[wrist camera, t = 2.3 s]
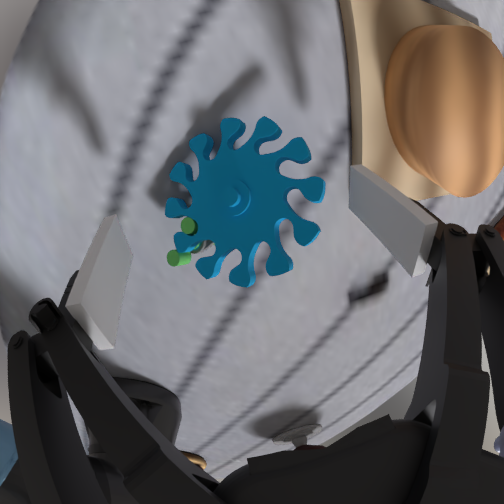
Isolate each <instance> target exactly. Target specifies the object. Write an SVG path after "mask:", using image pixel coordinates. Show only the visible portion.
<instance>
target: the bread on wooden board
mask: <svg viewBox="0 0 504 504" xmlns="http://www.w3.org/2000/svg"><path fill="white" fill-rule="evenodd" d="M339 2H340V8H341V14H342V20H343V27H344V35H345V43H346V51H347V61H348V72H349V84H350V100H351V122H352V165H359V164H362V165H363V166H365V167H366V168H368V169H369V170H371V171H372V172H374V173H375V174H377V175H378V176H379V177H381V178H382V179H384V180H385V181H386V182H388V183H389V184H391V185H392V186H393V187H395V188H396V189H397V190H399V191H400V192H401V193H403V194H404V195H405V196H407V197H408V198H411V199H413V200H415V201H417V200H423V199H428V198H433V197H438V196H443V195H448V194H452V195H455V196H457V197H471V196H474V195H476V194H478V193H480V192H482V191H483V190H485V189H486V188H487V187H488V186H489V185H490V184H491V183H492V182H493V181H494V180H495V178H496V177H497V176H498V174H499V173H500V171H501V169H502V167H503V166H504V58H503V56H502V54H501V52H500V51H499V49H498V48H497V46H496V45H495V44H494V43H493V42H492V36H491V33H490V32H488V31H486V30H484V29H483V28H481V27H479V26H477V25H475V24H473V23H471V22H469V21H467V20H465V19H463V18H461V17H459V16H457V15H455V14H453V13H451V12H449V11H446V10H444V9H442V8H439V7H437V6H434V5H432V4H429V3H427V2H424V1H421V0H339Z"/></svg>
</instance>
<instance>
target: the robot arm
mask: <svg viewBox="0 0 504 504" xmlns="http://www.w3.org/2000/svg"><path fill="white" fill-rule="evenodd" d="M349 209H350V210H351V211H352V212H353V213H354V214H355V215H356V216H357V217H358V218H359V219H360V220H361V221H362V222H363V223H364V224H365V225H366V226H367V227H368V228H369V229H370V230H371V232H372V233H373V234H374V235H375V236H376V237H377V238H378V239H379V240H380V241H381V242H382V244H383V245H384V246H385V247H386V248H387V249H388V250H389V251H390V253H391V254H392V255H393V256H394V257H395V258H396V259H397V261H398V262H399V263H400V264H401V265H402V266H403V268H404V269H405V270H406V271H407V272H408V273H409V275H410V276H411V277H415V276H418V275H421V274H423V273H424V272H425V268H426V265H427V263H428V264H429V265H430V266H431V267H432V269H431V272H430V275H429V278H428V281H427V283H426V286H427V287H428V285H429V298H428V310H427V320H426V329H425V336H424V343H423V350H422V356H421V362H420V367H419V372H418V377H417V382H416V387H415V391H414V395H413V399H412V402H411V405H410V407H409V409H408V411H407V413H406V415H405V417H404V420H403V419H399V420H391V418H390V416H389V414H388V415H386V416H384V417H382V418H379V419H377V420H375V421H372V422H370V423H367V424H365V425H362V426H360V427H357V428H356V429H355V430H353V431H352V432H350V433H349V434H347V435H346V436H344V437H343V438H341V439H339V440H338V441H336V442H335V443H333V444H331V445H330V446H328V447H326V448H323V449H313V450H290V451H280V452H276V453H272V454H267V455H262V456H257V457H252V458H247V461H248V464H247V465H245V466H242V467H241V468H239V469H237V470H235V471H234V472H232V473H231V474H230V475H228V476H227V477H226V478H225V479H224V480H223V481H222V482H221V483H219V482H218V481H217V480H215V479H214V478H213V477H212V476H210V475H209V474H208V473H206V472H205V471H203V470H202V469H201V468H199V467H198V466H196V465H195V464H194V463H193V462H191V461H190V460H189V459H188V458H187V457H186V456H185V455H184V454H182V453H181V452H180V451H179V450H178V449H177V448H176V447H175V446H174V444H175V441H176V437H177V433H178V429H179V426H180V422H181V418H182V414H181V403H180V401H179V399H178V398H177V397H176V396H175V395H174V394H172V393H171V392H169V391H167V390H165V389H163V388H161V387H158V386H155V385H152V384H149V383H145V382H141V381H136V380H129V379H120V378H112V376H111V375H110V374H109V372H108V371H107V370H106V368H105V367H104V366H103V364H102V363H101V362H100V360H99V359H98V357H97V356H96V355H95V353H94V352H93V351H92V350H91V348H92V344H93V343H94V344H95V345H96V347H97V348H98V349H99V350H106V349H114V348H115V341H116V335H117V329H118V323H119V318H120V312H121V307H122V302H123V297H124V292H125V288H126V283H127V279H128V274H129V270H130V266H131V262H132V258H133V253H132V251H131V248H130V246H129V244H128V242H127V239H126V237H125V235H124V232H123V230H122V227H121V225H120V223H119V220H118V218H117V215H116V214H115V215H112V216H109V217H105V218H104V219H103V221H102V223H101V225H100V227H99V229H98V231H97V233H96V235H95V237H94V239H93V241H92V243H91V245H90V248H89V250H88V252H87V254H86V256H85V258H84V261H83V263H82V265H81V268H80V270H78V271H76V272H75V273H74V274H73V275H72V277H71V278H70V280H69V282H68V285H67V288H66V289H65V292H64V294H63V297H62V299H61V302H60V304H59V307H57V306H56V305H55V303H54V302H53V300H51V299H50V298H45V299H42V300H40V301H39V302H37V303H36V304H35V305H34V306H33V308H32V309H31V311H30V314H29V321H30V322H31V323H32V324H33V326H34V327H35V328H36V329H37V330H38V332H39V333H38V334H36V335H34V336H32V337H30V336H29V335H28V333H27V332H26V331H22V330H21V331H19V332H17V333H16V334H14V335H13V337H12V338H11V340H10V342H9V345H8V388H9V401H10V411H11V419H12V424H9V423H7V422H5V421H3V420H1V419H0V504H504V240H503V238H502V237H501V235H500V234H499V232H498V231H497V230H496V229H494V228H493V227H492V226H490V225H485V224H484V225H480V226H479V227H478V230H477V234H468V232H467V231H466V230H465V229H464V228H463V227H461V226H459V225H456V224H451V223H450V224H445V223H443V222H442V221H441V220H440V219H439V218H437V217H436V216H435V215H434V214H433V213H431V212H430V211H429V210H428V209H426V208H424V206H423V205H421V204H420V203H419V202H417V201H415V200H413V199H411V198H408V197H407V196H405V195H404V194H403V193H401V192H400V191H399V190H397V189H396V188H395V187H393V186H392V185H391V184H389V183H388V182H386V181H385V180H384V179H382V178H381V177H379V176H378V175H377V174H375V173H374V172H372V171H371V170H369V169H368V168H366V167H365V166H363V165H362V164H359V165H351V166H350V191H349ZM489 267H490V272H489V275H488V272H487V271H488V268H489ZM481 332H482V336H483V340H484V344H485V349H486V353H487V358H488V363H489V369H490V374H491V380H492V387H493V394H494V403H495V410H496V416H497V421H498V425H499V429H500V432H501V433H500V436H499V437H497V439H496V440H495V442H494V449H495V450H496V451H497V452H500V453H499V456H498V455H496V454H493V453H491V452H488V451H486V450H483V449H482V445H483V440H484V433H485V428H486V420H487V413H488V403H489V390H490V376H489V374H488V372H484V371H482V368H481V358H482V342H481V341H482V338H481ZM66 390H67V392H68V394H69V396H70V397H71V399H72V401H73V403H74V405H75V406H76V408H77V410H78V411H79V413H80V415H81V416H82V418H83V420H84V423H85V427H86V431H87V434H88V438H89V455H86V453H85V450H84V447H83V444H82V442H81V439H80V436H79V433H78V430H77V427H76V424H75V421H74V417H73V414H72V410H71V407H70V403H69V399H68V396H67V392H66Z"/></svg>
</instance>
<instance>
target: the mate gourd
mask: <svg viewBox="0 0 504 504" xmlns="http://www.w3.org/2000/svg"><path fill="white" fill-rule="evenodd" d="M321 430H322V426H321V425H320V424H312V425H306V426H302V427H298V428H295V429H292V430H289V431H286V432H284V433H282V434H280V435H278V436H276V437H275V438H274V439H273V442H274V444H276V445H285V444H291V443H293V444H294V446H295V447H296V449H294V450H313V449H323V448H326V447H324V446H320V445H307V439H308V438H310V437H312V436H314V435H316V434H317V433H319V432H320V431H321Z"/></svg>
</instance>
